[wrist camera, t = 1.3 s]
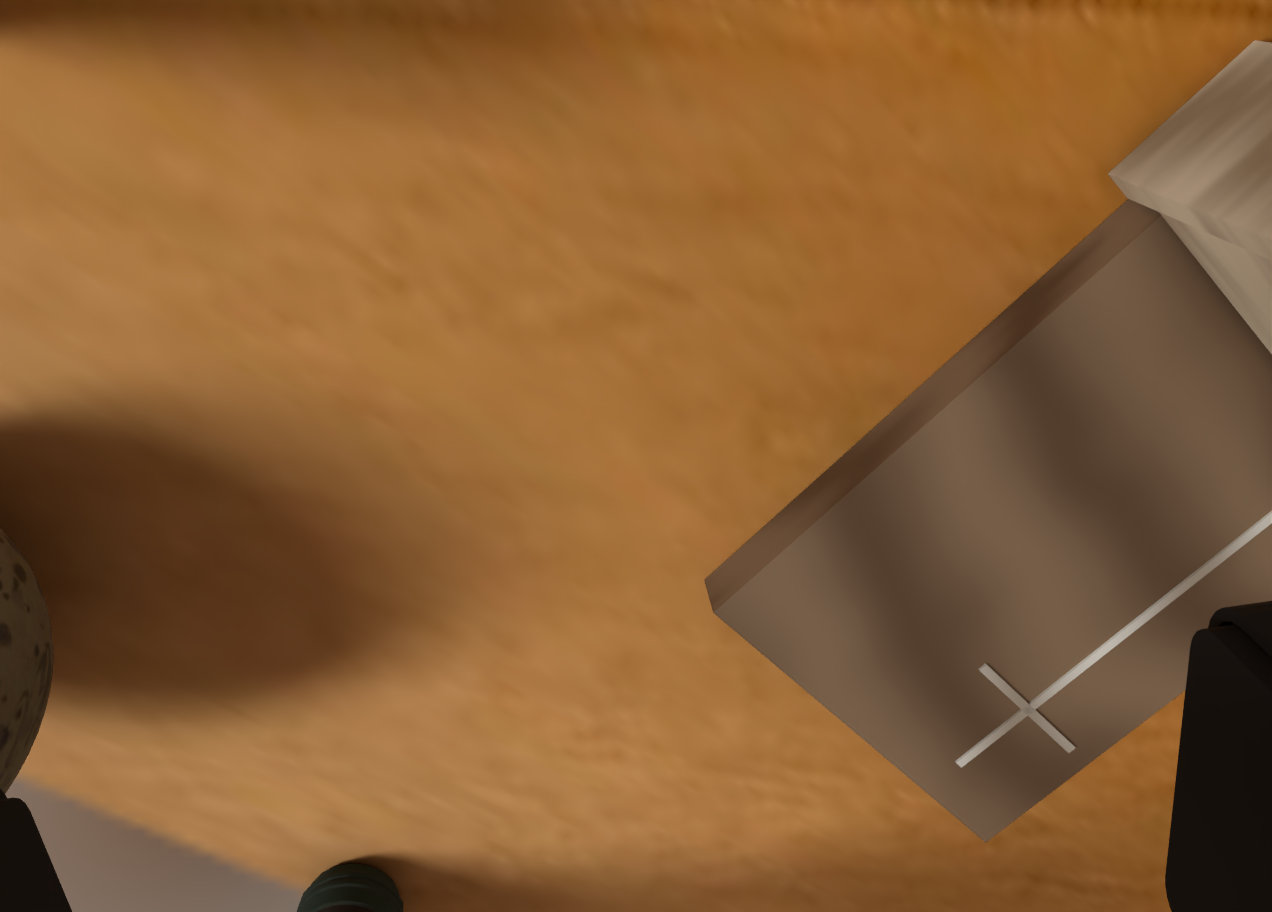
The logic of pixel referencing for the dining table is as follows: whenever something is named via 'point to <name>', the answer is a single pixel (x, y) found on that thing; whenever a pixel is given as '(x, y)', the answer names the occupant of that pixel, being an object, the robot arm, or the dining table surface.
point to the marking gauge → (1218, 181)
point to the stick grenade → (351, 891)
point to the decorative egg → (21, 659)
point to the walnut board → (1030, 530)
